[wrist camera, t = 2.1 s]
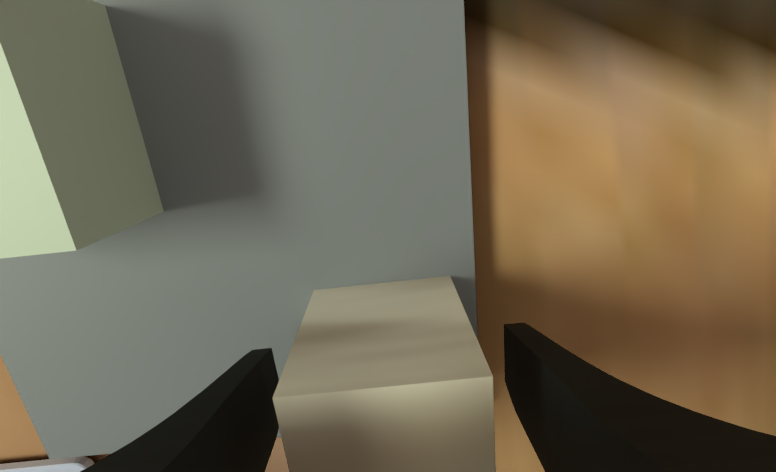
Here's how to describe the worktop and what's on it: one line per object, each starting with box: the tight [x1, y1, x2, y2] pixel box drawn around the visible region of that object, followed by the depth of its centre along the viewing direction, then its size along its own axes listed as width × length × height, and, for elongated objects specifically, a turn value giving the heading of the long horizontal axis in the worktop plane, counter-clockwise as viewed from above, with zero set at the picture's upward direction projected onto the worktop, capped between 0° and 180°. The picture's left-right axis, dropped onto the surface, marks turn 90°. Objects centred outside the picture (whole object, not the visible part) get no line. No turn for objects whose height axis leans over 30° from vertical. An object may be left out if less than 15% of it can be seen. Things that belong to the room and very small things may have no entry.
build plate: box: [0, 0, 478, 459], centre depth 12 cm, size 15×16×1 cm
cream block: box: [272, 276, 496, 472], centre depth 11 cm, size 4×4×5 cm
